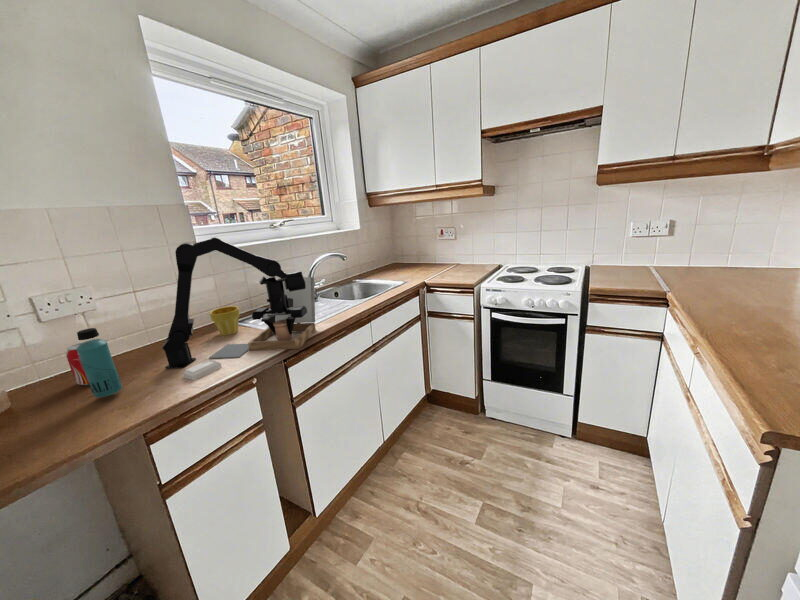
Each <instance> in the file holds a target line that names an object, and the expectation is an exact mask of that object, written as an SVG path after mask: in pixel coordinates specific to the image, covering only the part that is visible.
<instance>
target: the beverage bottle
mask: <svg viewBox="0 0 800 600" xmlns="http://www.w3.org/2000/svg"><path fill="white" fill-rule="evenodd" d="M76 336H77V339H78V340H79V341H83V342H80V343H81V344H80V345H79V346H78V348H77V352H78V354H79V357H80V360H81V365H82V367H83V369H84V372H85V373H86V376H87V379H88V381H89V383H88V384H89V385H88V387H89V389H90V390H91V393H92V395H93V396H94V397H95V398H105V397H108V396H111V395H114V394H116V393H118V392H120V391H121V390H122V389H123V385H122V384H123V383H122V381H121V379H120V375H119V372H118V370H117V367H116V366H115V363H114V360H113V357H112V353H111V351H110V348H109V345H108V342H107V340H104V339H101V338H96V337H99V336H100V334H99V332H98V330H97V328H95V327H91V328H90V327H89V328H85V329H81V330H79V331H77V332H76ZM85 340H86V341H85Z"/></svg>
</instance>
